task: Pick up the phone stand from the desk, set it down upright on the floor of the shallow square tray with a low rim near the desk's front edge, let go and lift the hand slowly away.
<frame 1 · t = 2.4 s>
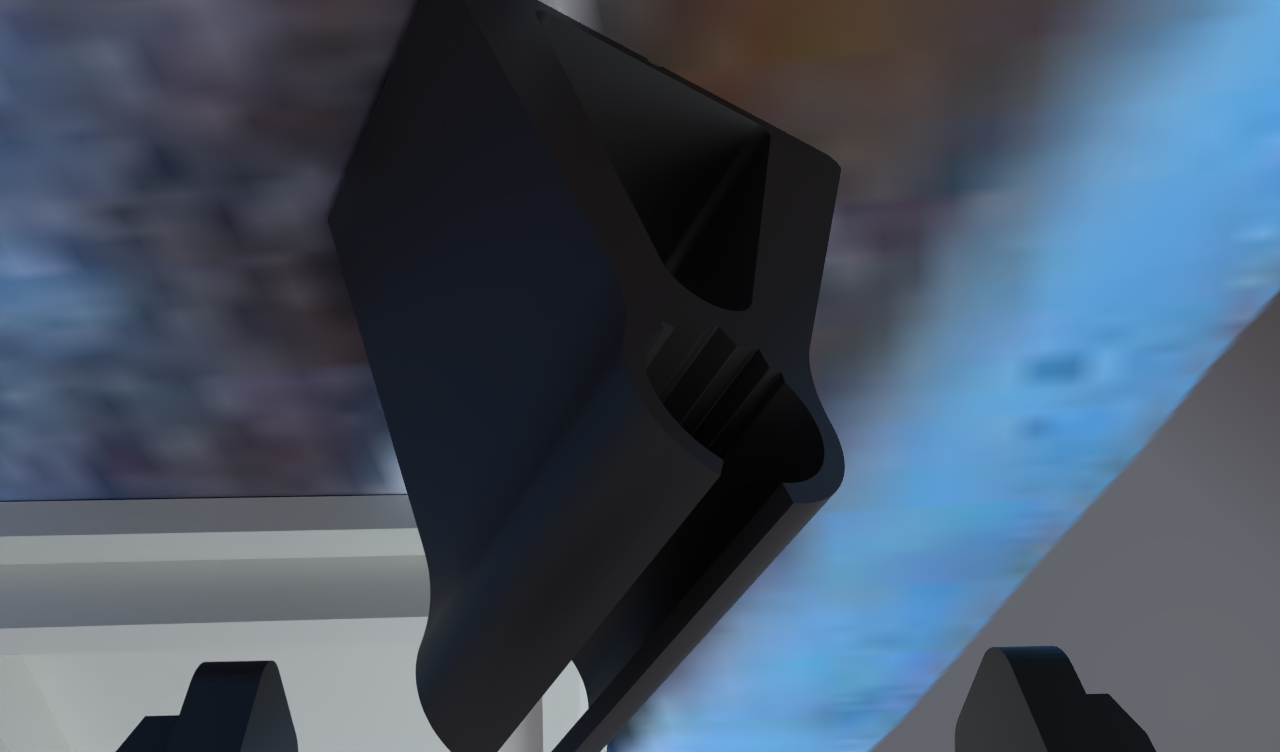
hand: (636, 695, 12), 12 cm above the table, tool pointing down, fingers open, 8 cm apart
shallow square tray: (323, 722, 32), on the table
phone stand: (584, 179, 22), on the table
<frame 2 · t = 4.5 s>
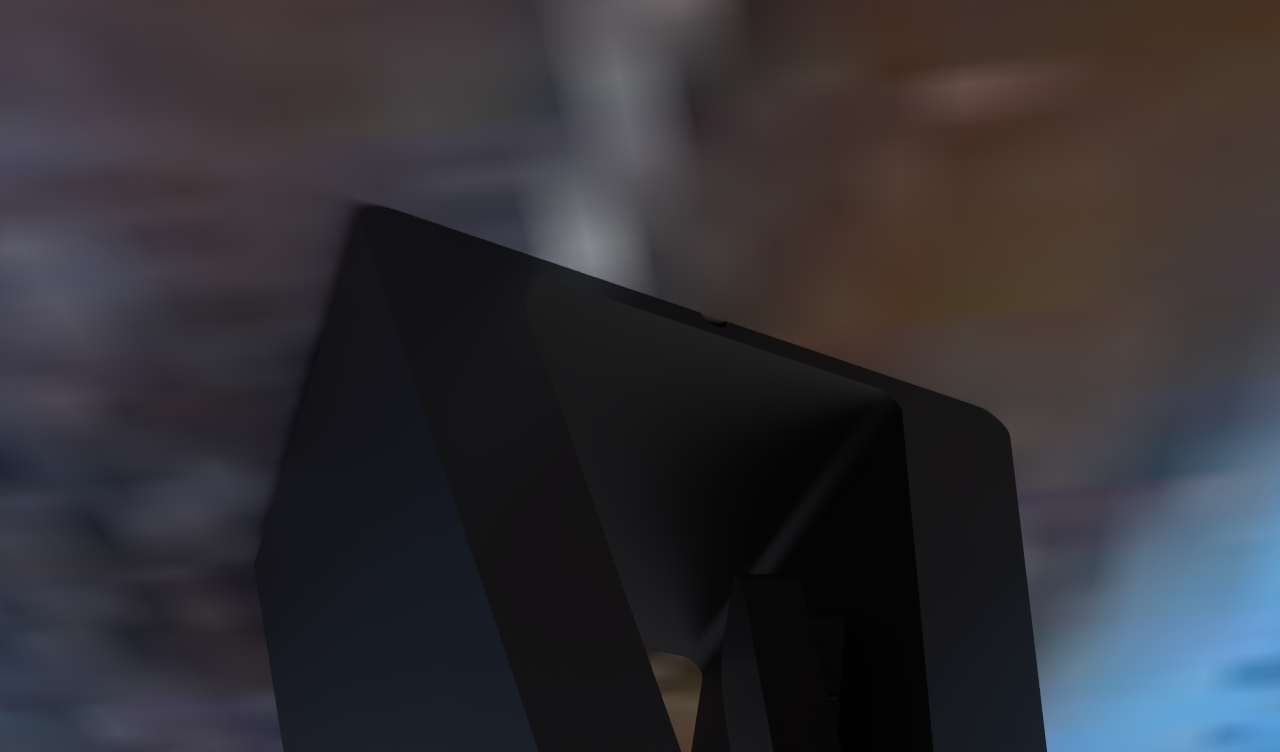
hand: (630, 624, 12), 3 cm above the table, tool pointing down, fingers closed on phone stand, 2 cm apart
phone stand: (622, 468, 15), on the table, touching gripper
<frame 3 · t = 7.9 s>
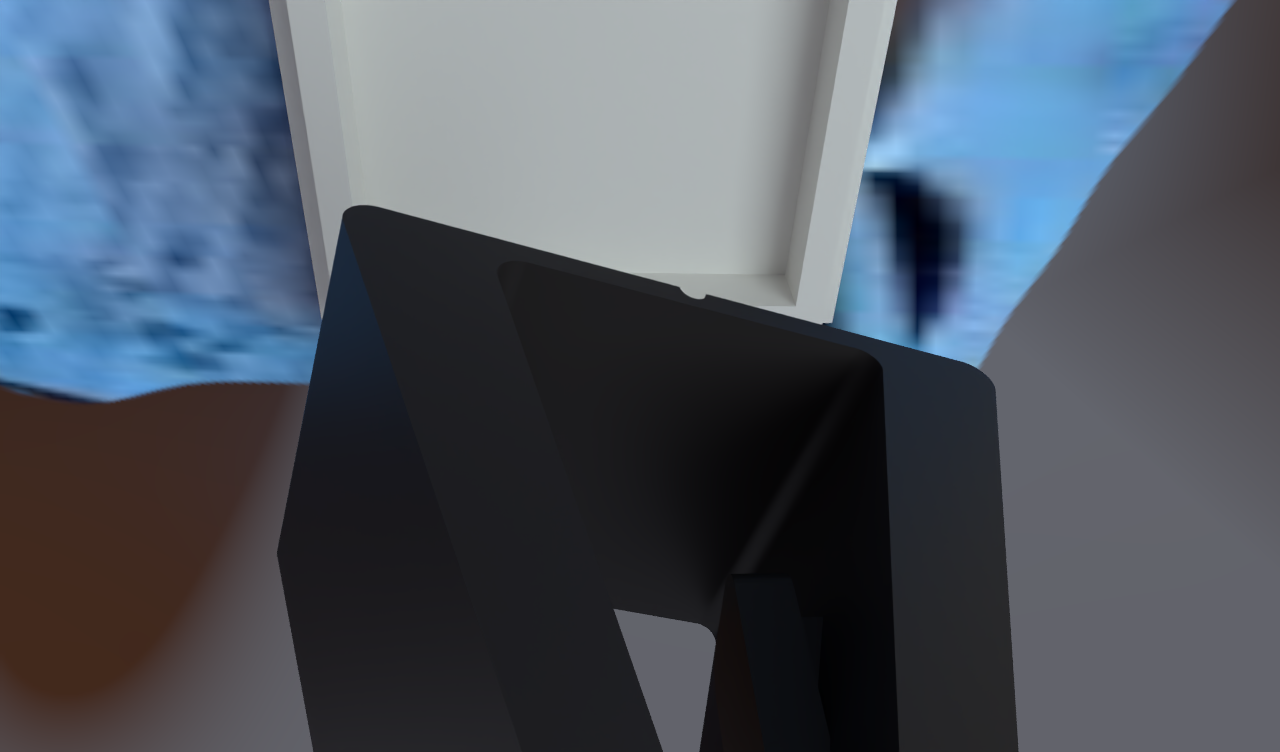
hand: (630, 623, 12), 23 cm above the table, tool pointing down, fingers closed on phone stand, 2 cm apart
shallow square tray: (587, 25, 31), on the table
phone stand: (620, 443, 15), point 19 cm above the table, touching gripper
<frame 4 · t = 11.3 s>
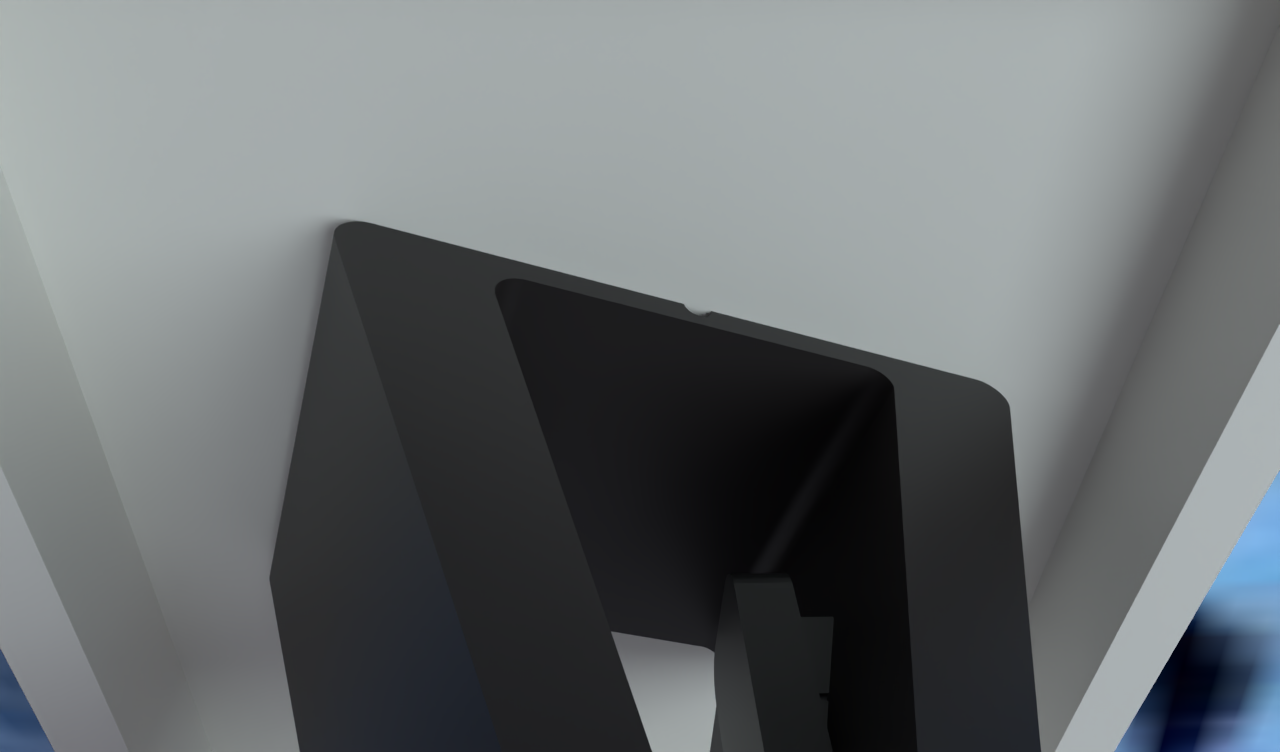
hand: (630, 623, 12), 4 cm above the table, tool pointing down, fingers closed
shallow square tray: (615, 420, 15), on the table
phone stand: (622, 463, 15), point 1 cm above the table, touching shallow square tray, gripper
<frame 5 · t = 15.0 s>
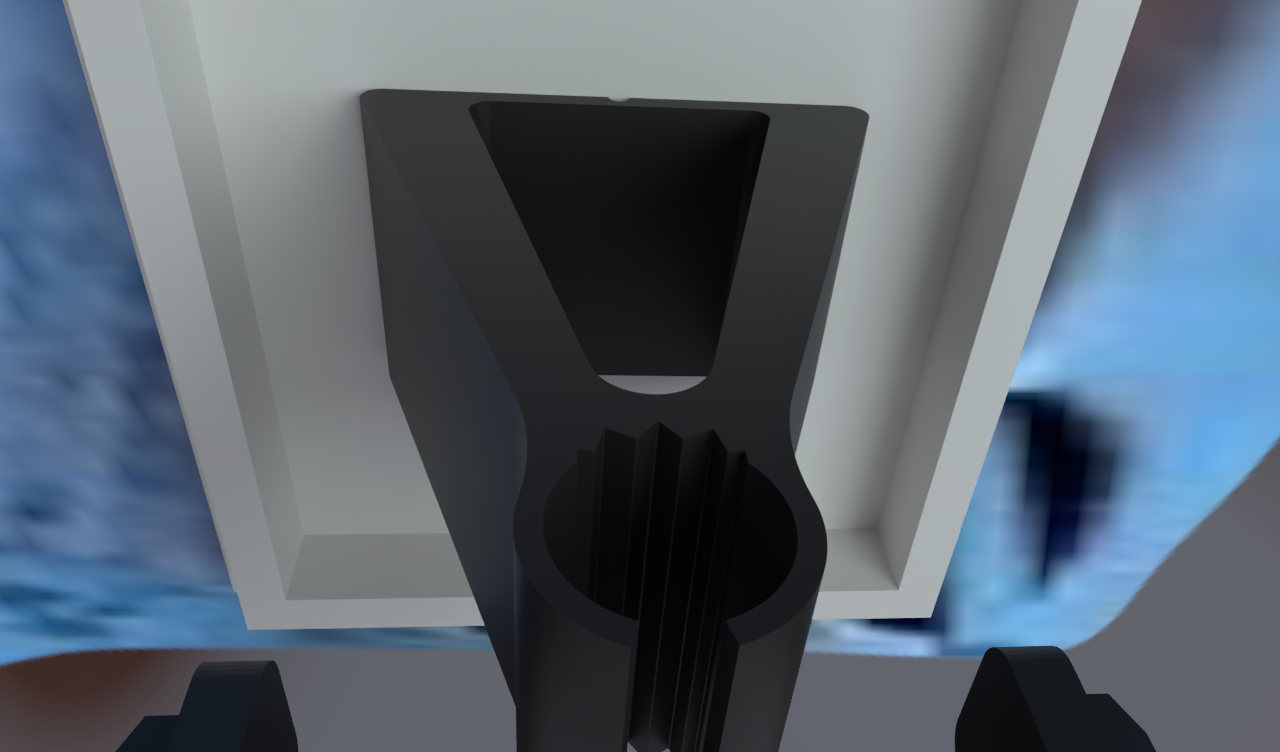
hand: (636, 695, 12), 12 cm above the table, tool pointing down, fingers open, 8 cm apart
shallow square tray: (604, 215, 21), on the table
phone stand: (610, 237, 20), point 1 cm above the table, touching shallow square tray
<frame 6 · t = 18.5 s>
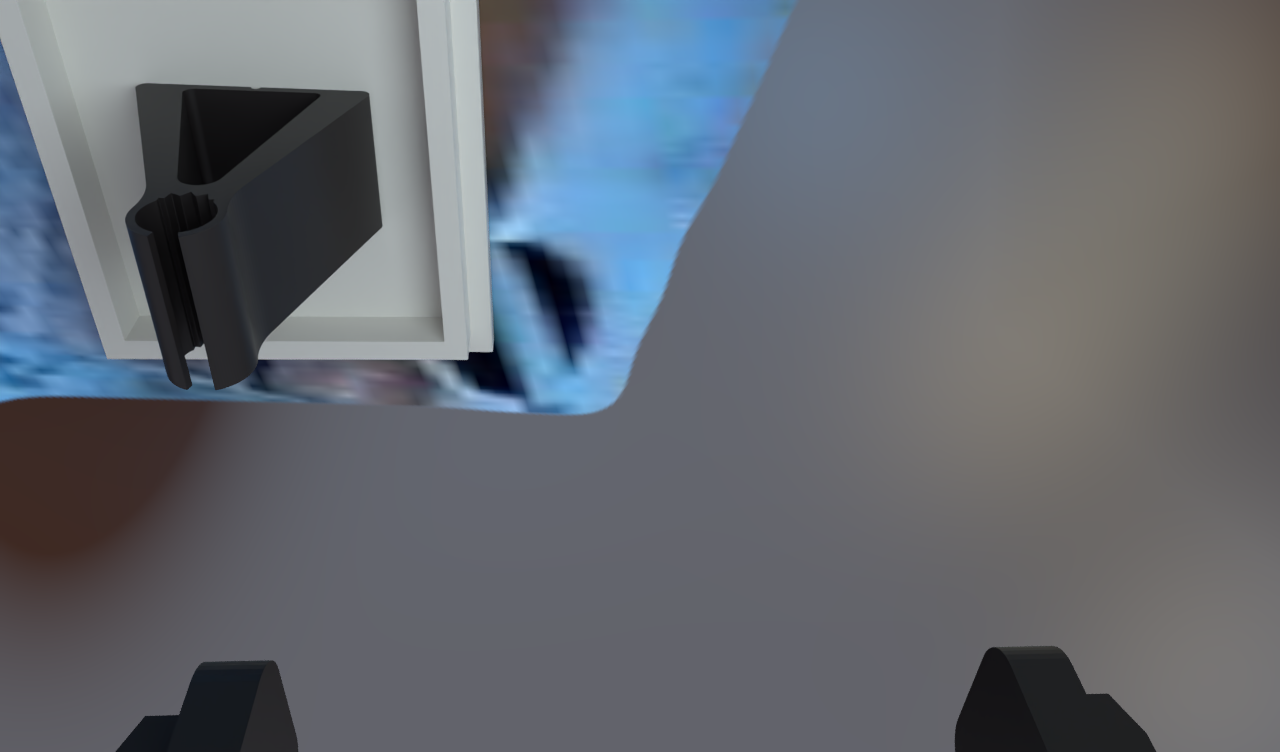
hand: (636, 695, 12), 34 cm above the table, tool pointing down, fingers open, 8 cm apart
shallow square tray: (272, 144, 43), on the table
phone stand: (268, 154, 42), point 1 cm above the table, touching shallow square tray
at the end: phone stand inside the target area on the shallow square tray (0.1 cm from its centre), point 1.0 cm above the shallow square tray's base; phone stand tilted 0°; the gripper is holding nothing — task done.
